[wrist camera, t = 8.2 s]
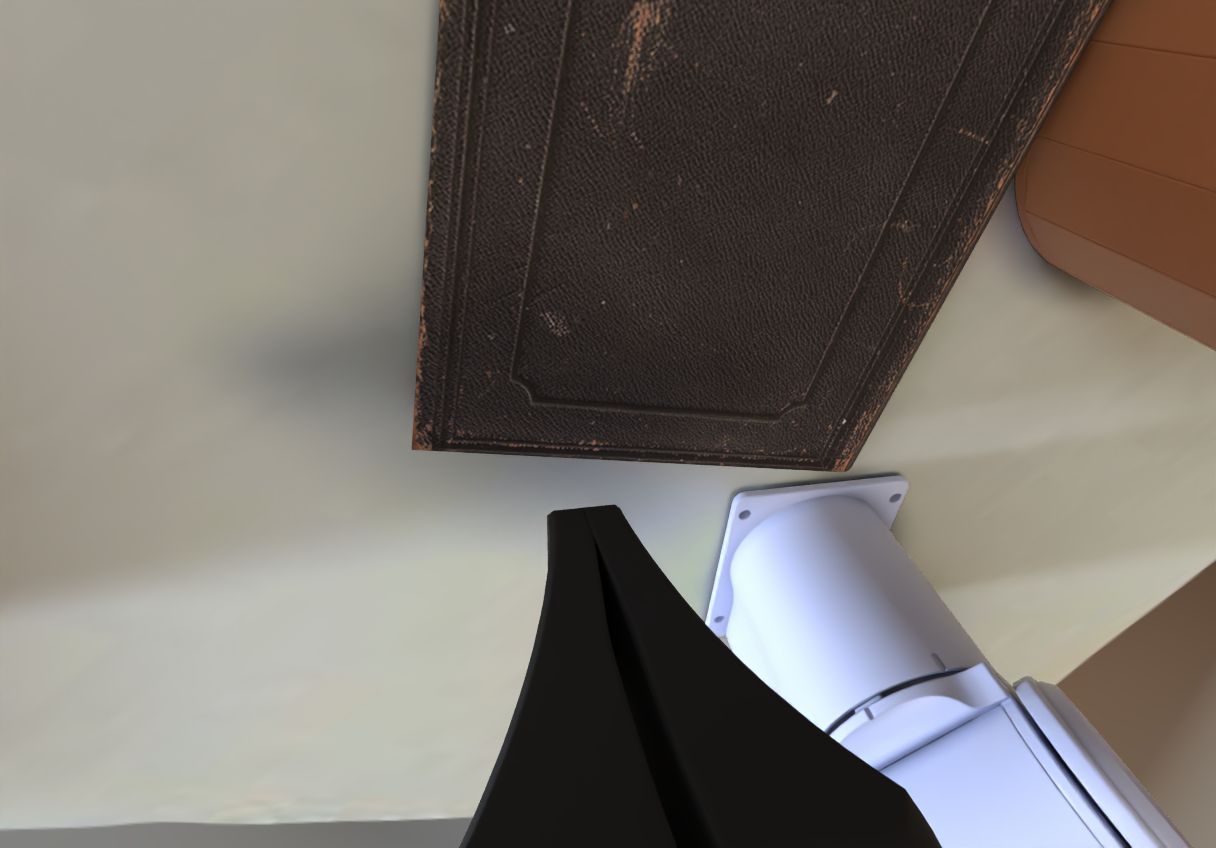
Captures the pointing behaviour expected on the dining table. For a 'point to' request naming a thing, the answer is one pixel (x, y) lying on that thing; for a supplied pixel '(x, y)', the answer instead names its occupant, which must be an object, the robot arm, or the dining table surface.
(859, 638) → the robot arm
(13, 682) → the dining table surface
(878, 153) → the hardcover book
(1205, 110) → the pot
